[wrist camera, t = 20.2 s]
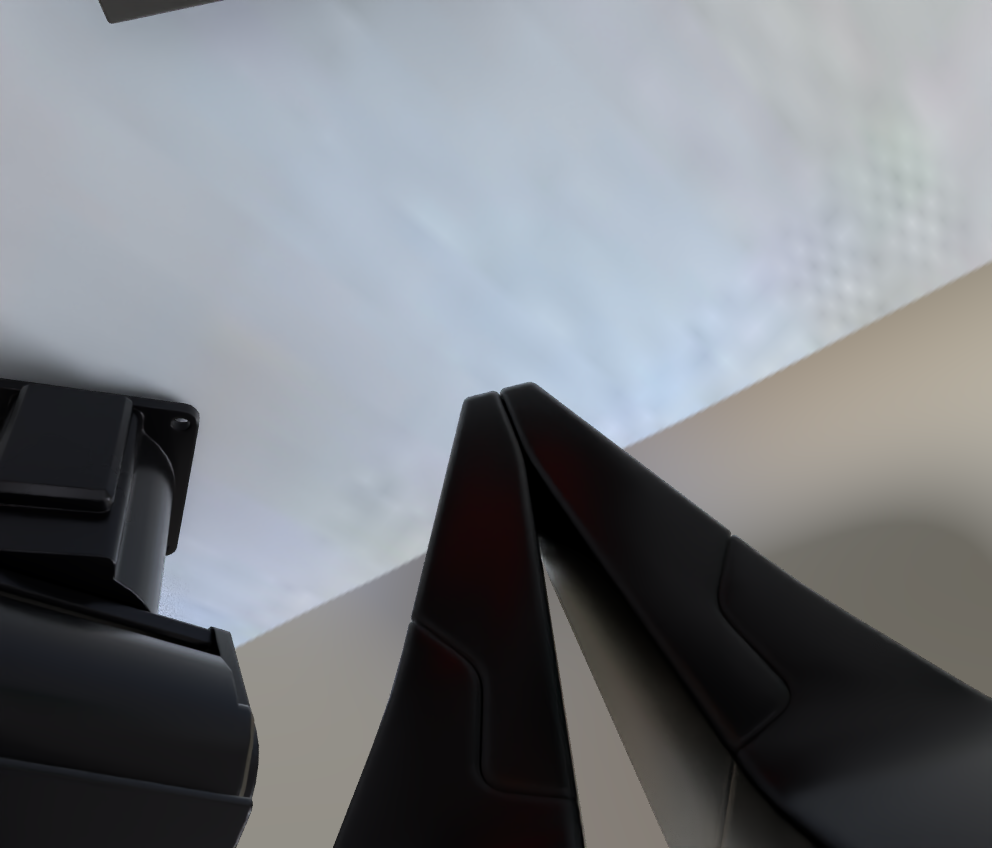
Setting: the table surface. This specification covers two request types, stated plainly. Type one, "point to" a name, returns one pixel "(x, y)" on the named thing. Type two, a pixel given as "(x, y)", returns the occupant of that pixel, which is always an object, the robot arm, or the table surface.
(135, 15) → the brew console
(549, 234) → the table surface
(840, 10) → the table surface
